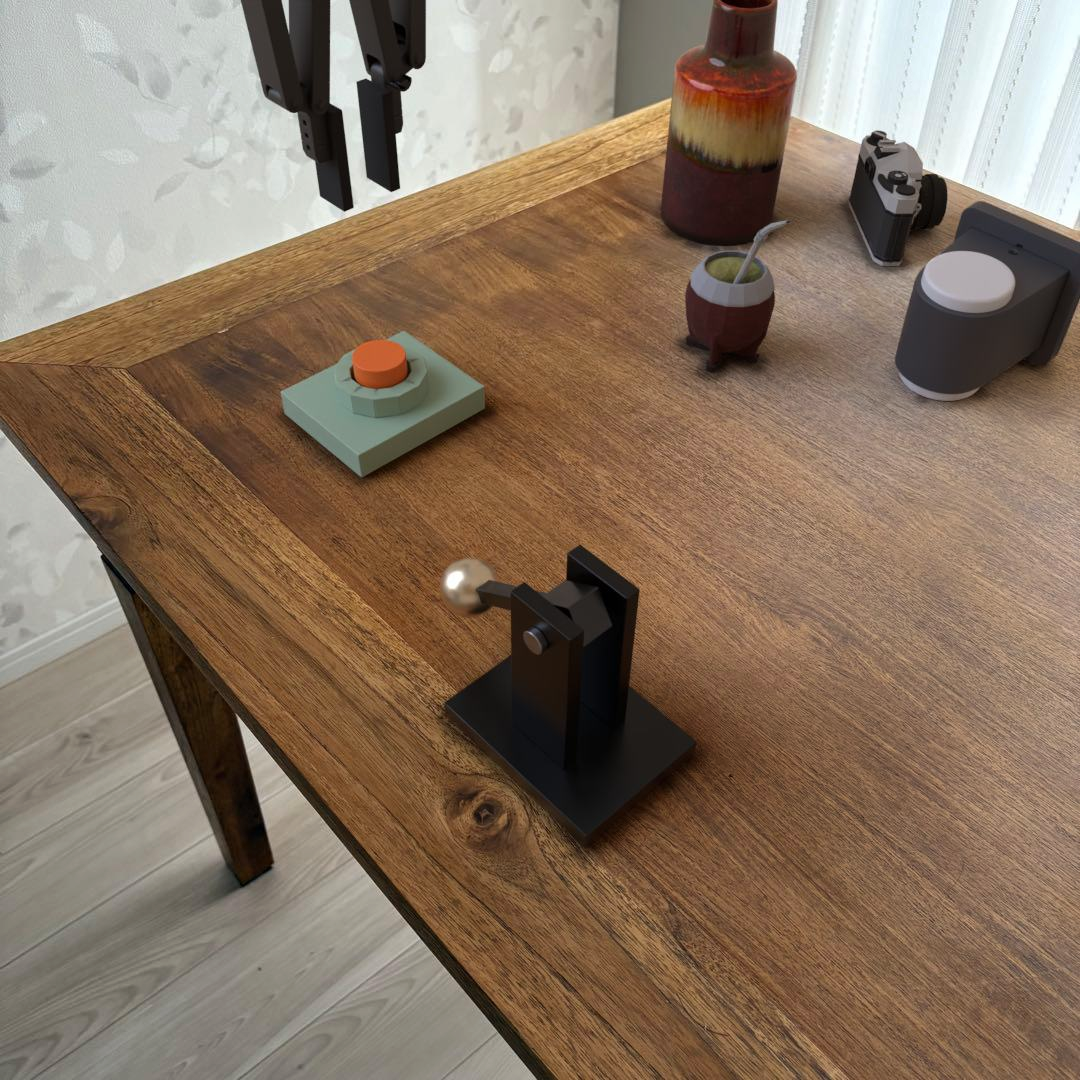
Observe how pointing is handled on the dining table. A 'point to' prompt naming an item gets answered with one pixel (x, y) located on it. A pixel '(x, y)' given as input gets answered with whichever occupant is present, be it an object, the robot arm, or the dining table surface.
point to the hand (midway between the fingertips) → (360, 191)
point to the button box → (383, 407)
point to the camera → (893, 197)
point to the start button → (379, 364)
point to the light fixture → (988, 304)
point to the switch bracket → (572, 709)
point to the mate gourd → (731, 303)
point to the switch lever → (478, 590)
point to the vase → (728, 127)
